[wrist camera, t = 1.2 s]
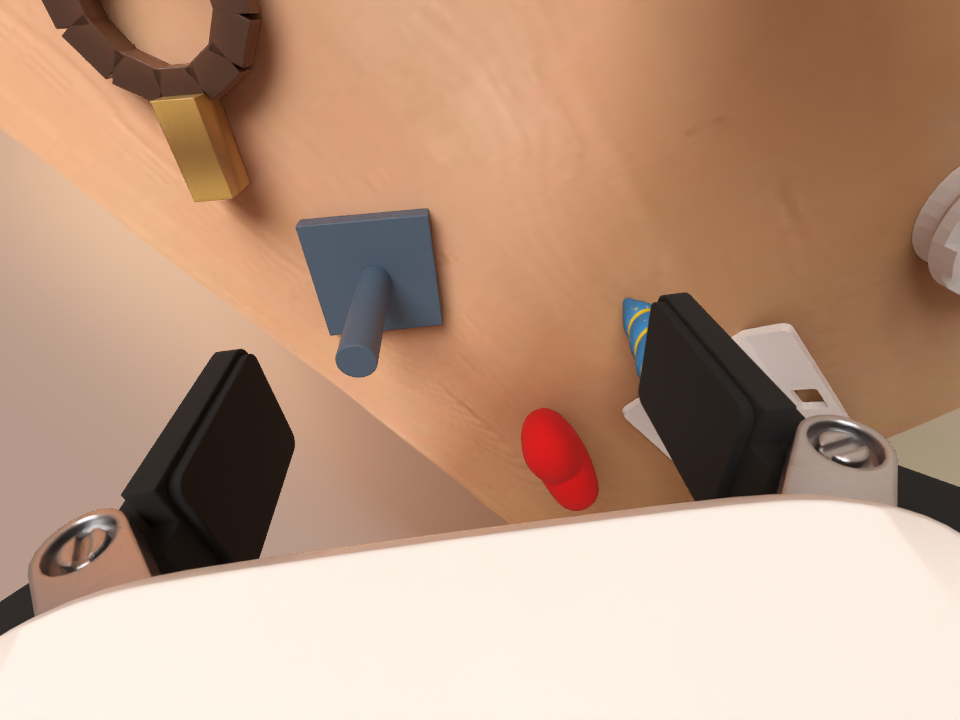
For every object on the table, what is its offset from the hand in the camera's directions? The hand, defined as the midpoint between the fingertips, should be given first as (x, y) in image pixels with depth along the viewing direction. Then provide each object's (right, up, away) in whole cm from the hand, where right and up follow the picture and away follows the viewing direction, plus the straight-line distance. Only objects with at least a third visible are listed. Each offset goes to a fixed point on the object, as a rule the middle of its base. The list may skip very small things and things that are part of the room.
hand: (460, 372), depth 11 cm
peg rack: (-8, +8, +28) cm, 30 cm away
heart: (+8, -6, +40) cm, 41 cm away
